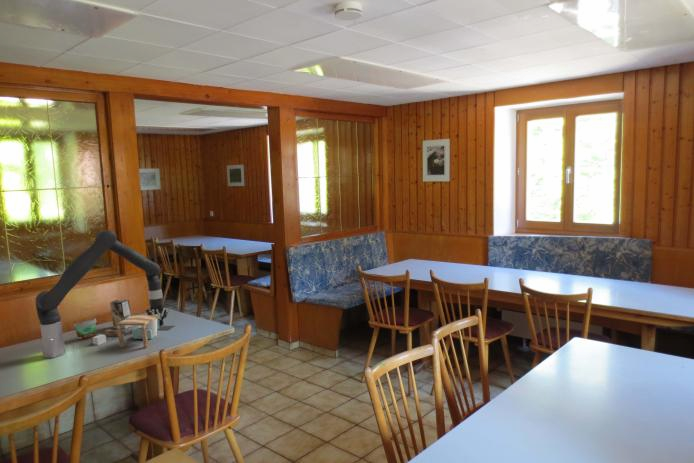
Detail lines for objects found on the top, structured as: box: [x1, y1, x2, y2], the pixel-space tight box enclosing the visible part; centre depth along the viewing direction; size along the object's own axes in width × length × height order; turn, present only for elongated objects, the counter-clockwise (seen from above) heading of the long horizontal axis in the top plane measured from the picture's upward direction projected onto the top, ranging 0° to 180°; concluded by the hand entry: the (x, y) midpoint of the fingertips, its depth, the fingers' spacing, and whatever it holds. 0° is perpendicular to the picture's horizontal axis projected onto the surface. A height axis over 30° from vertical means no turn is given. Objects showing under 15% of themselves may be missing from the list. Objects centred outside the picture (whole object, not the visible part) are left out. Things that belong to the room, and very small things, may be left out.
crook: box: [131, 318, 163, 340], centre depth 282 cm, size 22×12×5 cm, turn 164°
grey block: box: [91, 334, 107, 346], centre depth 269 cm, size 5×4×4 cm
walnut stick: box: [104, 329, 126, 337], centre depth 282 cm, size 12×2×3 cm, turn 71°
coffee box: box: [109, 299, 133, 330], centre depth 296 cm, size 9×6×16 cm
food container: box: [73, 317, 98, 341], centre depth 279 cm, size 12×6×10 cm, turn 143°
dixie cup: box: [146, 319, 158, 338], centre depth 275 cm, size 8×8×10 cm
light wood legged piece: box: [116, 314, 160, 349], centre depth 264 cm, size 14×16×13 cm
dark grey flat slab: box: [157, 325, 175, 331], centre depth 288 cm, size 7×7×1 cm
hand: (158, 325), depth 292 cm, fingers closed on crook, 3 cm apart
